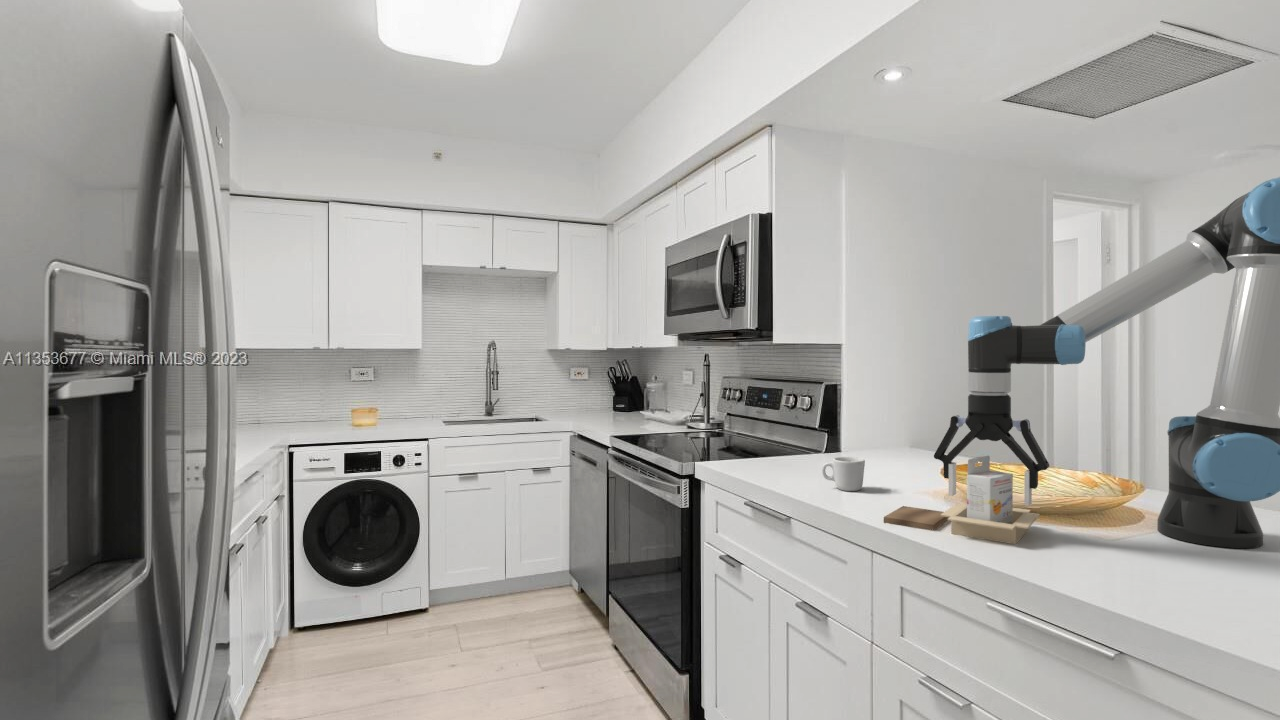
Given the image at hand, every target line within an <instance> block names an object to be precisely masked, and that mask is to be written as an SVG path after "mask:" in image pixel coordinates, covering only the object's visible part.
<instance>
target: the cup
mask: <svg viewBox="0 0 1280 720" xmlns="http://www.w3.org/2000/svg"><path fill="white" fill-rule="evenodd" d="M865 462H866V461H865V458H862V457H855V456H838V457H833V459H832V461H828V462H825V463H824V464H823V465H822V469H821V474H822V476H823V478H824V479H825V480H827V481H833V482H835V487H836V488H837V489H839V490H840V491H845V492H857V491H860V490H862V488H863V485H864V484H863V483H864V473H865V465H866V464H865ZM827 467H830V468H831V469H832V475H831V476H828V475H827V474H826V473H827V471H826V469H827Z"/></svg>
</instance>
